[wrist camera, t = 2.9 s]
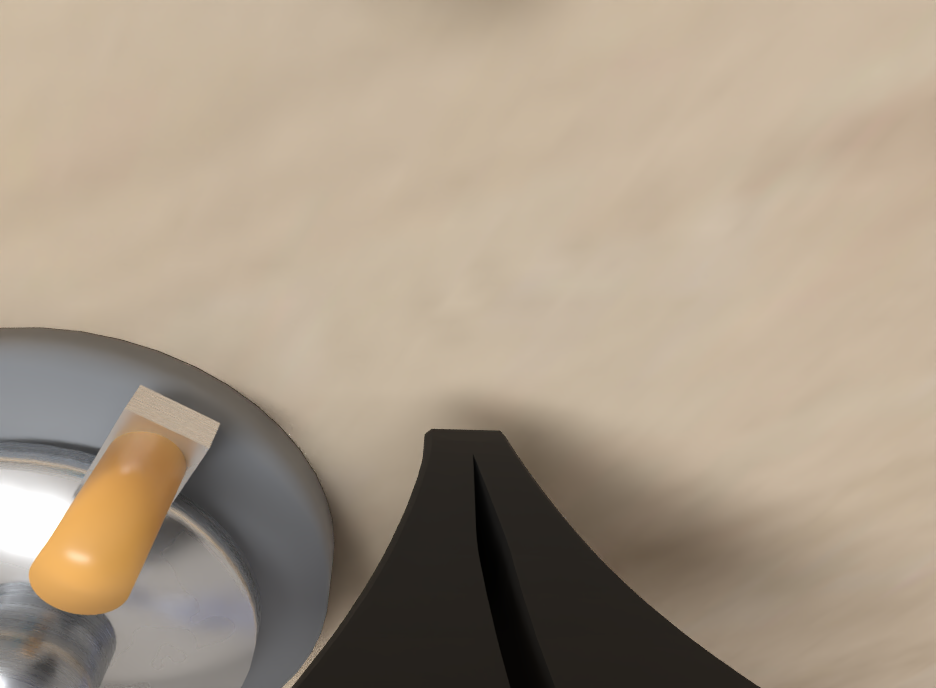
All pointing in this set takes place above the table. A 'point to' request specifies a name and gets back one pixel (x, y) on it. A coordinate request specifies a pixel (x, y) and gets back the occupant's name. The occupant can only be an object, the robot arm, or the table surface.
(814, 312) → the table surface
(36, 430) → the post base
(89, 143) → the table surface
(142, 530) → the flange
